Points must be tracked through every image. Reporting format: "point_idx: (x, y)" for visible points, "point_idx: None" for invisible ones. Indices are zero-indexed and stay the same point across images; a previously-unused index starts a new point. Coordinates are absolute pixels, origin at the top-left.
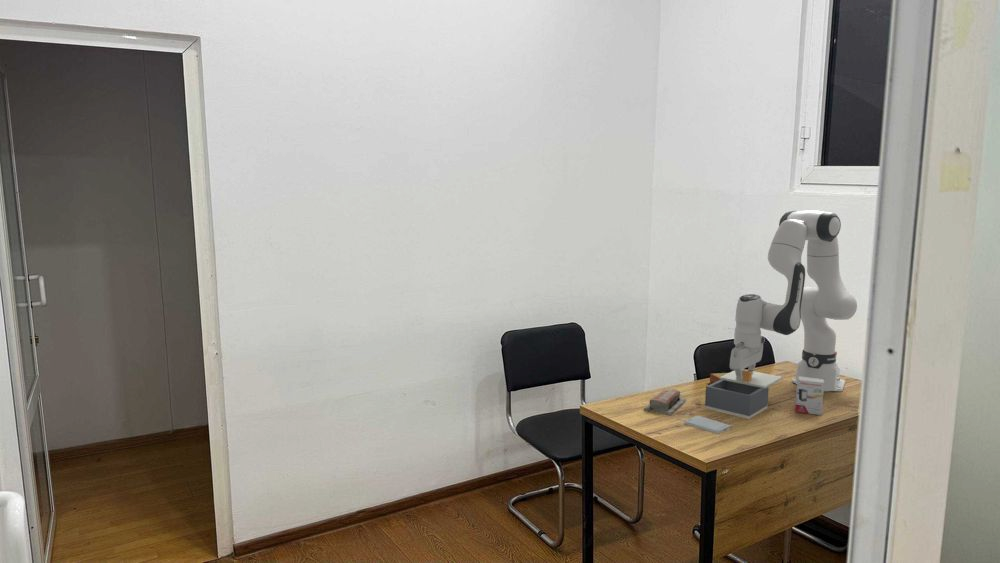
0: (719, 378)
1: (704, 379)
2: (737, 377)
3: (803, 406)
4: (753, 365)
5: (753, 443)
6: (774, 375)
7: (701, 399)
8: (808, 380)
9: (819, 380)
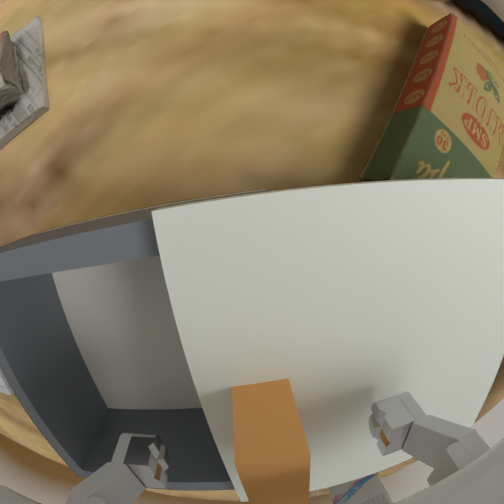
0: (440, 65)
1: (437, 4)
2: (120, 455)
3: None
4: (428, 479)
5: (20, 441)
6: (484, 399)
7: (133, 120)
8: None
9: None
